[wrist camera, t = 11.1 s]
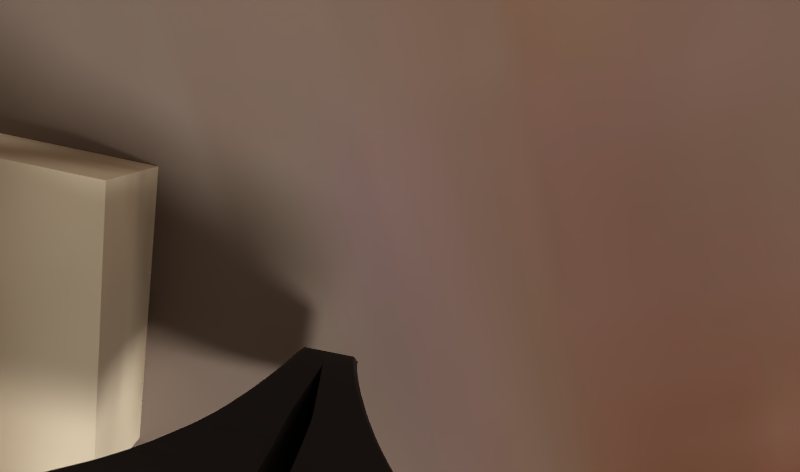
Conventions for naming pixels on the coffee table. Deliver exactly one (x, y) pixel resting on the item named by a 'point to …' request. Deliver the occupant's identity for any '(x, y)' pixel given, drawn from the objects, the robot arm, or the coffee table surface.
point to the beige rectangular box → (71, 302)
